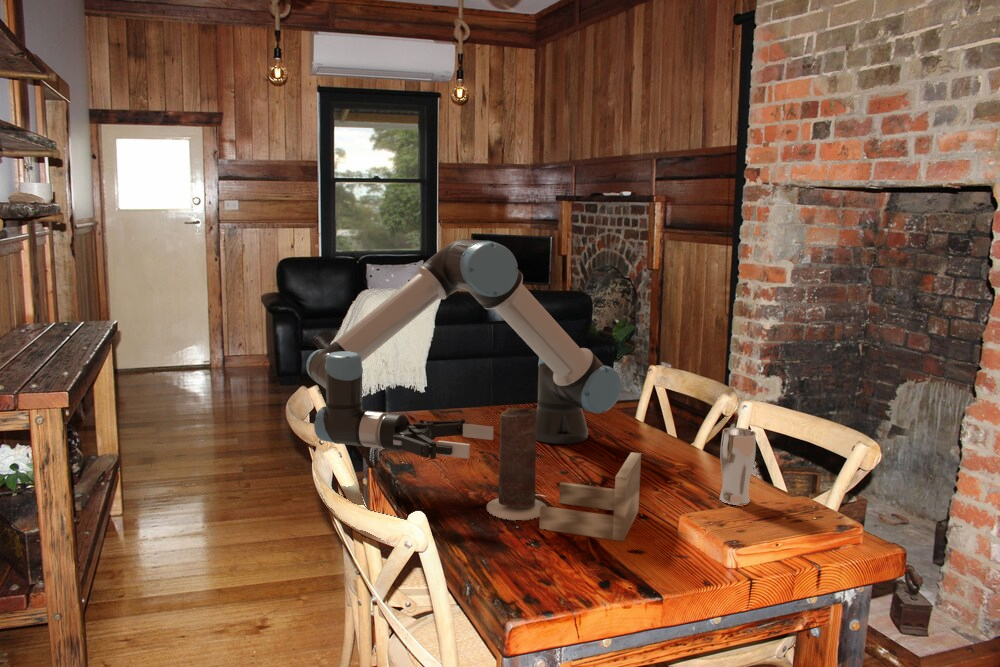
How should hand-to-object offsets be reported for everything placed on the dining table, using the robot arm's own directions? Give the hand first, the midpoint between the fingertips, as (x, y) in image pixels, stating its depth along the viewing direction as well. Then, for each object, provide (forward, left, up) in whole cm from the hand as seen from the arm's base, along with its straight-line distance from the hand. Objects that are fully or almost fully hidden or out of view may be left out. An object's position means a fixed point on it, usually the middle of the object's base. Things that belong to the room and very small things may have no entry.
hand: (481, 442), depth 166 cm
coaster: (-3, +7, -13) cm, 15 cm away
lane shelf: (-7, +20, -13) cm, 25 cm away
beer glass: (-36, +38, -13) cm, 55 cm away
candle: (-3, +7, -13) cm, 15 cm away
